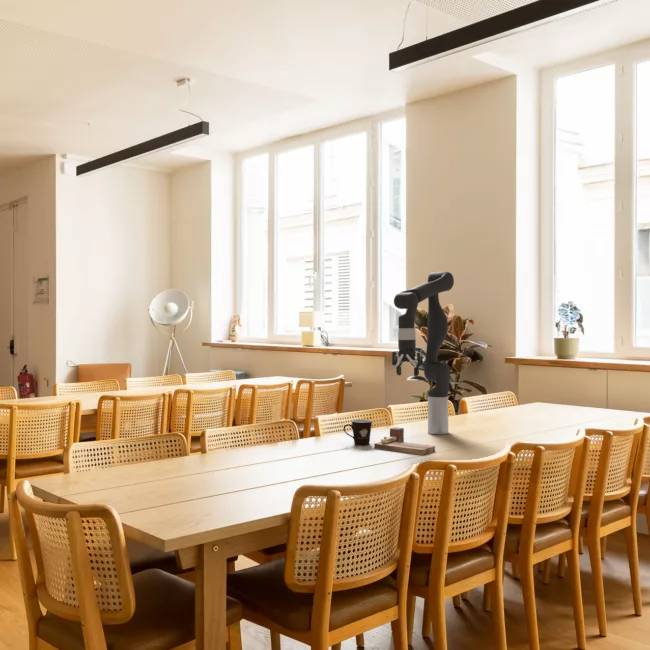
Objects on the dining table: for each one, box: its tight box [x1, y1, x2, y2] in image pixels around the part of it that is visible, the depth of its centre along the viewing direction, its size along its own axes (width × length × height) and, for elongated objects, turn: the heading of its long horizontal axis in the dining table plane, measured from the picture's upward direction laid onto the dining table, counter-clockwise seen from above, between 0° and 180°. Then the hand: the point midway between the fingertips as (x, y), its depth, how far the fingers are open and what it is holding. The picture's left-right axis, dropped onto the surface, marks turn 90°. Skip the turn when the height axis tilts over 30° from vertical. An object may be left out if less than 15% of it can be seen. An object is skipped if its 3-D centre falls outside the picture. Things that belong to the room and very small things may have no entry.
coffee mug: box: [343, 419, 373, 447], centre depth 307 cm, size 12×9×10 cm
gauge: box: [380, 426, 405, 443], centre depth 302 cm, size 12×4×7 cm, turn 142°
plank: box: [373, 441, 436, 456], centre depth 294 cm, size 10×23×2 cm, turn 52°
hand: (407, 375), depth 312 cm, fingers open, 8 cm apart
